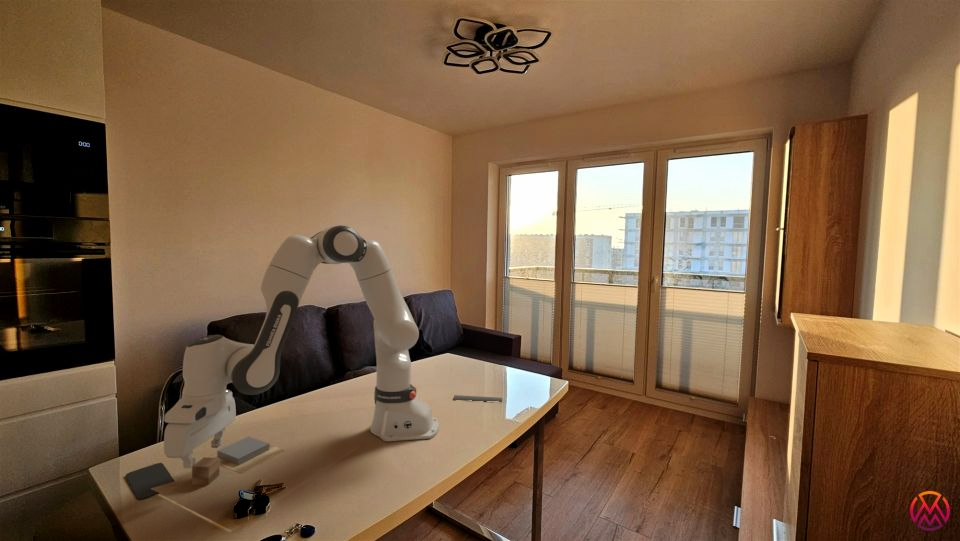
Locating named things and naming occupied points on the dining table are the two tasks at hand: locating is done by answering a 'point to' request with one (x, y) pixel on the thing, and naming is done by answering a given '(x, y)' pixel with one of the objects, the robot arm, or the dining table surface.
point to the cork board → (251, 462)
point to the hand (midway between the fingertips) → (203, 456)
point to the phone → (148, 480)
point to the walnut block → (205, 471)
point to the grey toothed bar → (477, 398)
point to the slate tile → (243, 450)
